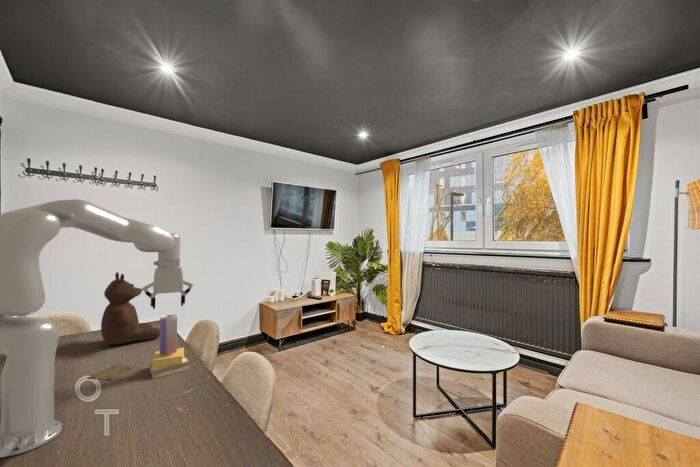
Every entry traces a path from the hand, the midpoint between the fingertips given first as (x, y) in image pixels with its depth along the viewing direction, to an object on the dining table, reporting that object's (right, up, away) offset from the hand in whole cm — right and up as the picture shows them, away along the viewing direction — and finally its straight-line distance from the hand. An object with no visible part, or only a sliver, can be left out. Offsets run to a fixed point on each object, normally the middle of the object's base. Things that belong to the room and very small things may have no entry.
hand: (168, 306), depth 119 cm
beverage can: (0, -19, 0) cm, 19 cm away
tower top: (0, -22, 0) cm, 22 cm away
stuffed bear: (-39, -26, +33) cm, 57 cm away
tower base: (0, -25, 0) cm, 25 cm away
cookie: (-19, -26, -3) cm, 32 cm away
